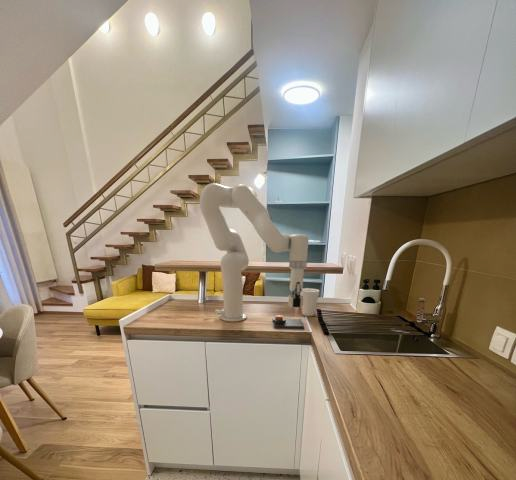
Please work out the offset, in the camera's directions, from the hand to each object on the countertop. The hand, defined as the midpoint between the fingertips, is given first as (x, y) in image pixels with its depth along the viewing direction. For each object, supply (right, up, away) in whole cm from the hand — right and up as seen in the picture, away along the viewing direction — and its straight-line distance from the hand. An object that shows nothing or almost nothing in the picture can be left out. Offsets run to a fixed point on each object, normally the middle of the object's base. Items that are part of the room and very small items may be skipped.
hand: (295, 304), depth 128 cm
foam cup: (+10, -2, +21) cm, 24 cm away
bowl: (0, -1, 0) cm, 1 cm away
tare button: (-7, -7, +3) cm, 10 cm away
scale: (-3, -9, +4) cm, 10 cm away
